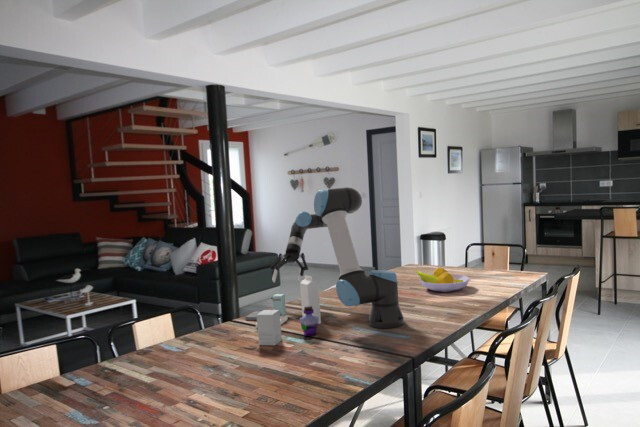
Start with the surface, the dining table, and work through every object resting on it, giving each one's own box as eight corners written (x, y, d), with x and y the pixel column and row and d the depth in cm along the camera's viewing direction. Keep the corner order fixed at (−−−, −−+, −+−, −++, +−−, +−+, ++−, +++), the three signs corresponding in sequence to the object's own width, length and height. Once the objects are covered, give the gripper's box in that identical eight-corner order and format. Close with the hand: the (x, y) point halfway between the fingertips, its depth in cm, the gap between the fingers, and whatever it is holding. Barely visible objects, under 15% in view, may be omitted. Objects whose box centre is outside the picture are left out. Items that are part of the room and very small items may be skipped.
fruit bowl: (475, 285, 269) (474, 265, 268) (461, 296, 246) (460, 274, 245) (427, 282, 284) (426, 263, 283) (410, 293, 261) (408, 272, 260)
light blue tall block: (277, 316, 234) (276, 294, 233) (286, 316, 233) (284, 293, 232) (274, 318, 230) (272, 296, 229) (282, 319, 228) (281, 296, 228)
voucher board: (268, 319, 230) (267, 314, 230) (287, 319, 227) (287, 314, 227) (255, 328, 216) (255, 323, 216) (276, 328, 213) (275, 323, 213)
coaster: (254, 314, 241) (254, 311, 241) (272, 314, 238) (272, 311, 238) (245, 319, 231) (245, 316, 231) (264, 320, 228) (264, 317, 228)
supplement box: (282, 339, 197) (280, 309, 196) (275, 346, 190) (272, 314, 189) (266, 339, 199) (263, 309, 199) (258, 345, 192) (255, 314, 192)
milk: (310, 326, 212) (306, 277, 211) (302, 324, 217) (298, 276, 216) (321, 323, 216) (317, 275, 215) (313, 321, 221) (309, 273, 219)
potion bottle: (296, 337, 199) (294, 308, 198) (304, 330, 207) (302, 303, 206) (316, 338, 196) (314, 309, 195) (323, 331, 204) (321, 303, 203)
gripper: (318, 250, 253) (311, 284, 240) (274, 251, 260) (265, 285, 247) (314, 242, 248) (307, 276, 234) (270, 243, 255) (260, 277, 242)
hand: (285, 281), depth 241 cm, fingers open, 13 cm apart
